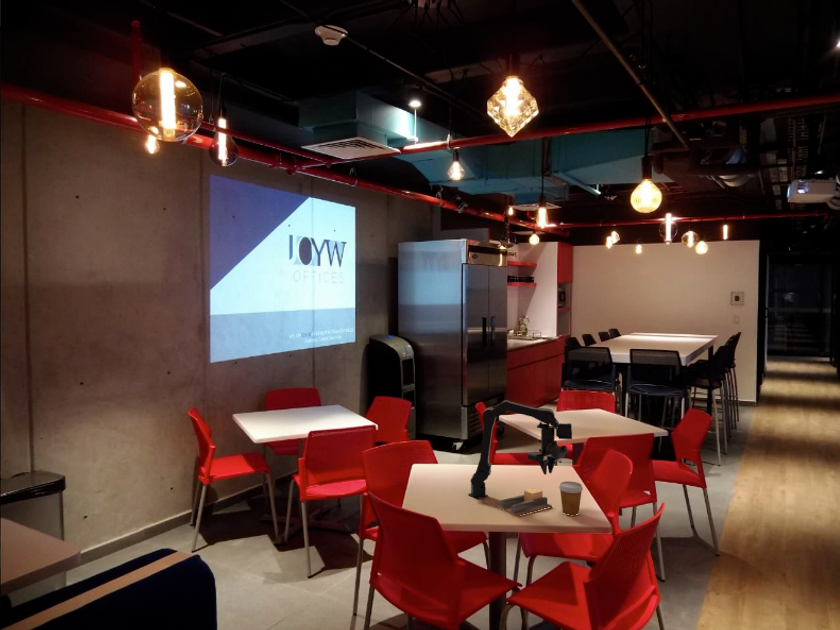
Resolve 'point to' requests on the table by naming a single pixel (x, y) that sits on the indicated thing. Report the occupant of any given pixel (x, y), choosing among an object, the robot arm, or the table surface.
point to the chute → (523, 505)
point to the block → (532, 494)
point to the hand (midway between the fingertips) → (547, 473)
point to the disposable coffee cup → (570, 497)
